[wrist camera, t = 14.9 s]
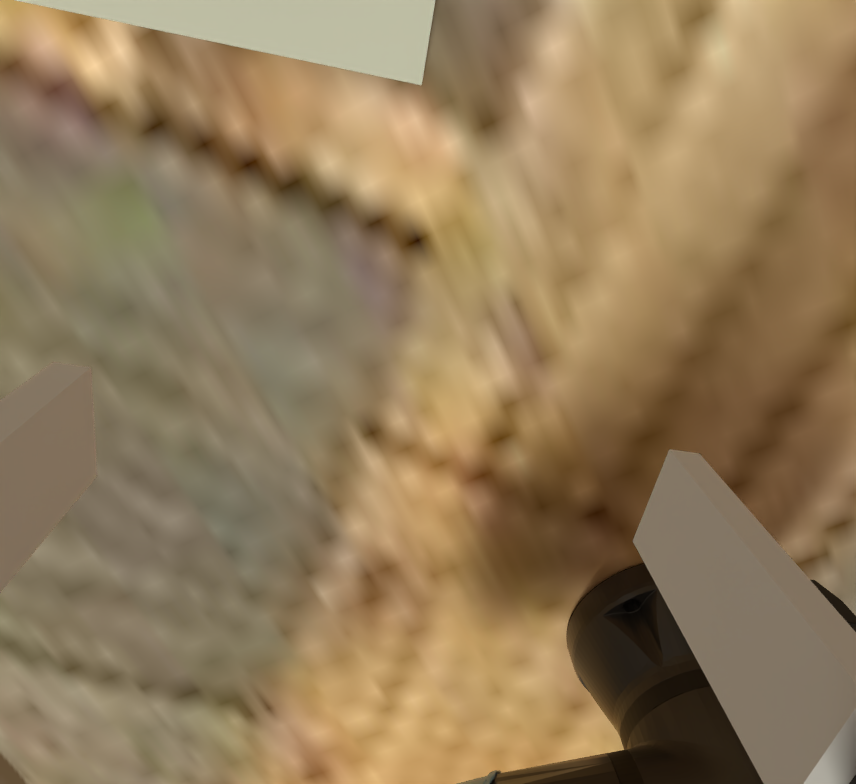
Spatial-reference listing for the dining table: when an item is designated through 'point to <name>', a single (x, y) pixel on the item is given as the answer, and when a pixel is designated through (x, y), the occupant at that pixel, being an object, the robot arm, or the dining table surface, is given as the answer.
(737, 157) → the dining table surface
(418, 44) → the sage tile
